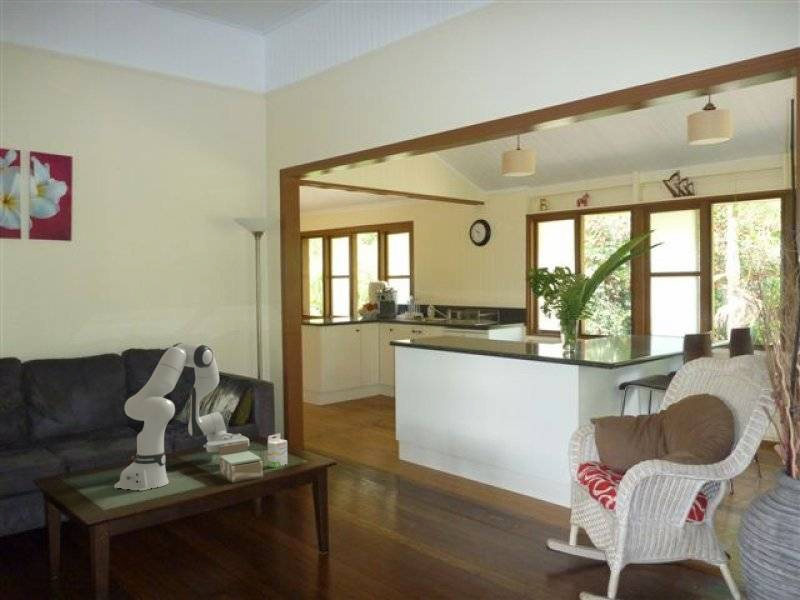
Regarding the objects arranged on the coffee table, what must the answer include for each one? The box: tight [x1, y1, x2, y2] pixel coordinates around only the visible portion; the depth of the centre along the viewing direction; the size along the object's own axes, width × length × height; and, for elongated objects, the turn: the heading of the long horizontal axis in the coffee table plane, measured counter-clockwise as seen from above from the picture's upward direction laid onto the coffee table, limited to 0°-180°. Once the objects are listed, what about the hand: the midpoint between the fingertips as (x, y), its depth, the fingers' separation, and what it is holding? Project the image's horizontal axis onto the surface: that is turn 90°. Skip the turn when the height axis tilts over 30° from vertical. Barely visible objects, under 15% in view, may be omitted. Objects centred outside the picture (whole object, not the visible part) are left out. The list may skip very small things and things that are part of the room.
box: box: [219, 458, 264, 484], centre depth 300 cm, size 18×14×7 cm
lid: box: [217, 442, 262, 465], centre depth 301 cm, size 18×14×5 cm
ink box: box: [267, 432, 288, 469], centre depth 315 cm, size 9×5×15 cm, turn 143°
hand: (232, 447), depth 309 cm, fingers closed, pressing on lid
